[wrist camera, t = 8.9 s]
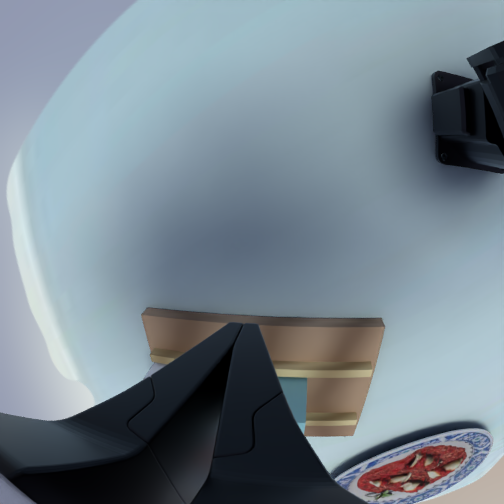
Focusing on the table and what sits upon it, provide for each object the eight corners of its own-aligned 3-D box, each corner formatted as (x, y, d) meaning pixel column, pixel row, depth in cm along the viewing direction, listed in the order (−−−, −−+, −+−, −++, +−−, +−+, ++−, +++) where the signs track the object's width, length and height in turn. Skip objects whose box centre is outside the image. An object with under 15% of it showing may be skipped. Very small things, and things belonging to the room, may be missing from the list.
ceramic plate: (451, 391, 23) (460, 410, 20) (504, 440, 25) (509, 453, 22) (287, 481, 32) (285, 498, 29) (384, 508, 34) (385, 520, 32)
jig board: (381, 318, 21) (387, 334, 19) (352, 427, 25) (353, 443, 23) (147, 307, 24) (135, 321, 22) (177, 413, 29) (170, 427, 26)
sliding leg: (307, 374, 22) (305, 423, 17) (299, 435, 25) (296, 476, 20) (244, 371, 23) (232, 417, 18) (249, 432, 26) (240, 472, 21)
